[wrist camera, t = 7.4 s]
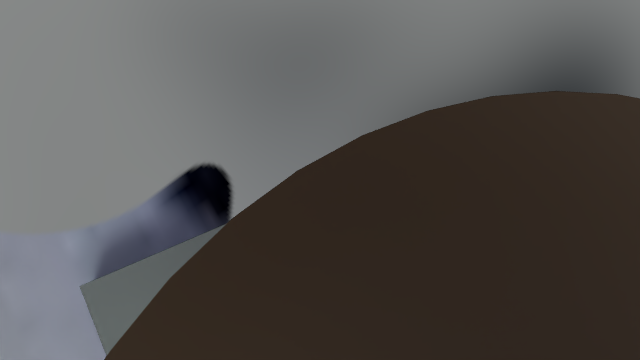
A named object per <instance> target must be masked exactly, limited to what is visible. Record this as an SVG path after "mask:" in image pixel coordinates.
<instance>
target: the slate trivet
mask: <svg viewBox="0 0 640 360" xmlns="http://www.w3.org/2000/svg"><path fill="white" fill-rule="evenodd" d="M225 225H226V224H225ZM225 225H222V226H220V227H218V228H215V229H213V230H211V231H208V232H206V233H204V234H201V235H199V236H196V237H194V238H192V239H189V240H187V241H185V242H182V243H180V244H178V245H175V246H173V247H171V248H168V249H166V250H164V251H161V252H159V253H157V254H154V255H152V256H150V257H147V258H145V259H143V260H140V261H138V262H136V263H133V264H131V265H129V266H126V267H124V268H122V269H119V270H117V271H115V272H112V273H110V274H108V275H105V276H103V277H100V278H98V279H96V280H93V281H91V282H89V283H86V284H84V285H82V286H80V289H81V291H82V294H83V296H84V299H85V301H86V304H87V307H88V309H89V312H90V314H91V317H92V319H93V322H94V324H95V327H96V330H97V332H98V335H99V337H100V340H101V342H102V345H103V348H104V350H105V353H106V355H108V353H109V352H110V350H111V349H112V348H113V347H114V346H115V344H116V343H117V342H118V341H119V339H120V338H121V337H122V336H123V335H124V333H125V332H126V331H127V330H128V328H129V327H130V326H131V325H132V324H133V322H134V321H135V320H136V319H137V317H138V316H139V315H140V314H141V313H142V311H143V310H144V309H145V308H146V306H147V305H148V304H149V303H150V302H151V300H152V299H153V298H154V297H155V295H156V294H157V293H158V292H159V291H160V289H161V288H162V287H163V286H164V284H165V283H166V282H167V281H168V280H169V278H170V277H171V276H172V275H173V274H175V273H176V272H177V271H178V270H179V269H180V268H181V267H182V266H183V265H184V264H185V263H186V262H187V261H188V260H189V259H190V258H191V257H192V256H193V255H194V254H196V253H197V252H198V251H199V250H200V249H201V248H202V247H203V246H204V245H205V244H206V243H207V242H208V241H209V240H210V239H211V238H212V237H213V236H214V235H215V234H217V233H218V232H219V231H220V230H221V229H222V228H223V227H224V226H225Z"/></svg>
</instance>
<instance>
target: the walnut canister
mask: <svg viewBox="0 0 640 360" xmlns="http://www.w3.org/2000/svg"><path fill="white" fill-rule="evenodd" d="M104 360H640V99H639V98H634V97H629V96H623V95H618V94H601V93H582V92H565V91H549V92H537V93H526V94H514V95H501V96H491V97H486V98H483V99H478V100H473V101H469V102H464V103H460V104H456V105H451V106H447V107H443V108H438V109H433V110H429V111H426V112H423V113H420V114H418V115H415V116H413V117H410V118H407V119H405V120H402V121H399V122H397V123H394V124H391V125H389V126H386V127H383V128H381V129H378V130H375V131H373V132H370V133H367V134H365V135H362V136H360V137H359V138H357V139H355V140H353V141H351V142H349V143H348V144H346V145H344V146H342V147H340V148H338V149H337V150H335V151H333V152H331V153H329V154H327V155H326V156H324V157H322V158H320V159H318V160H316V161H315V162H313V163H311V164H309V165H307V166H305V167H304V168H302V169H300V170H298V171H296V172H295V173H294V174H292V175H291V176H290V177H288V178H287V179H286V180H284V181H283V182H281V183H280V184H279V185H277V186H276V187H275V188H273V189H272V190H271V191H269V192H268V193H266V194H265V195H264V196H262V197H261V198H260V199H258V200H257V201H255V202H254V203H253V204H251V205H250V206H249V207H247V208H246V209H244V210H243V211H242V212H240V213H239V214H238V215H236V216H235V217H234V218H232V219H231V220H230V221H229V222H228V223H227V224H226V225H225V226H224V227H223V228H222V229H221V230H220V231H219V232H218V233H217V234H215V235H214V236H213V237H212V238H211V239H210V240H209V241H208V242H207V243H206V244H205V245H204V246H203V247H202V248H201V249H200V250H199V251H198V252H197V253H196V254H194V255H193V256H192V257H191V258H190V259H189V260H188V261H187V262H186V263H185V264H184V265H183V266H182V267H181V268H180V269H179V270H178V271H177V272H176V273H175V274H173V275H172V276H171V277H170V278H169V280H168V281H167V282H166V283H165V284H164V286H163V287H162V288H161V289H160V291H159V292H158V293H157V294H156V295H155V297H154V298H153V299H152V300H151V302H150V303H149V304H148V305H147V306H146V308H145V309H144V310H143V311H142V313H141V314H140V315H139V316H138V317H137V319H136V320H135V321H134V322H133V324H132V325H131V326H130V327H129V328H128V330H127V331H126V332H125V333H124V335H123V336H122V337H121V338H120V339H119V341H118V342H117V343H116V344H115V346H114V347H113V348H112V349H111V350H110V352H109V353H108V355H107V356H106V358H105V359H104Z"/></svg>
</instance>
